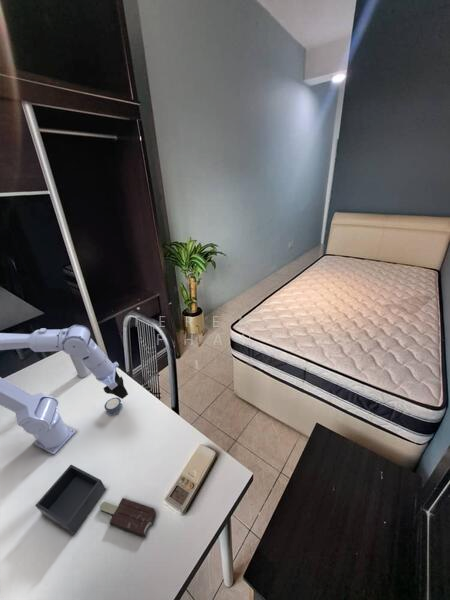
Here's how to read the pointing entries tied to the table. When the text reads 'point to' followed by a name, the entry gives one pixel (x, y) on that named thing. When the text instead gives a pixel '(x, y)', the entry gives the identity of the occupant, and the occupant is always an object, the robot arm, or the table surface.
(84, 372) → the bottle
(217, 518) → the table surface
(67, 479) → the tub
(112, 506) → the ice cream bar
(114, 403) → the rice dish
